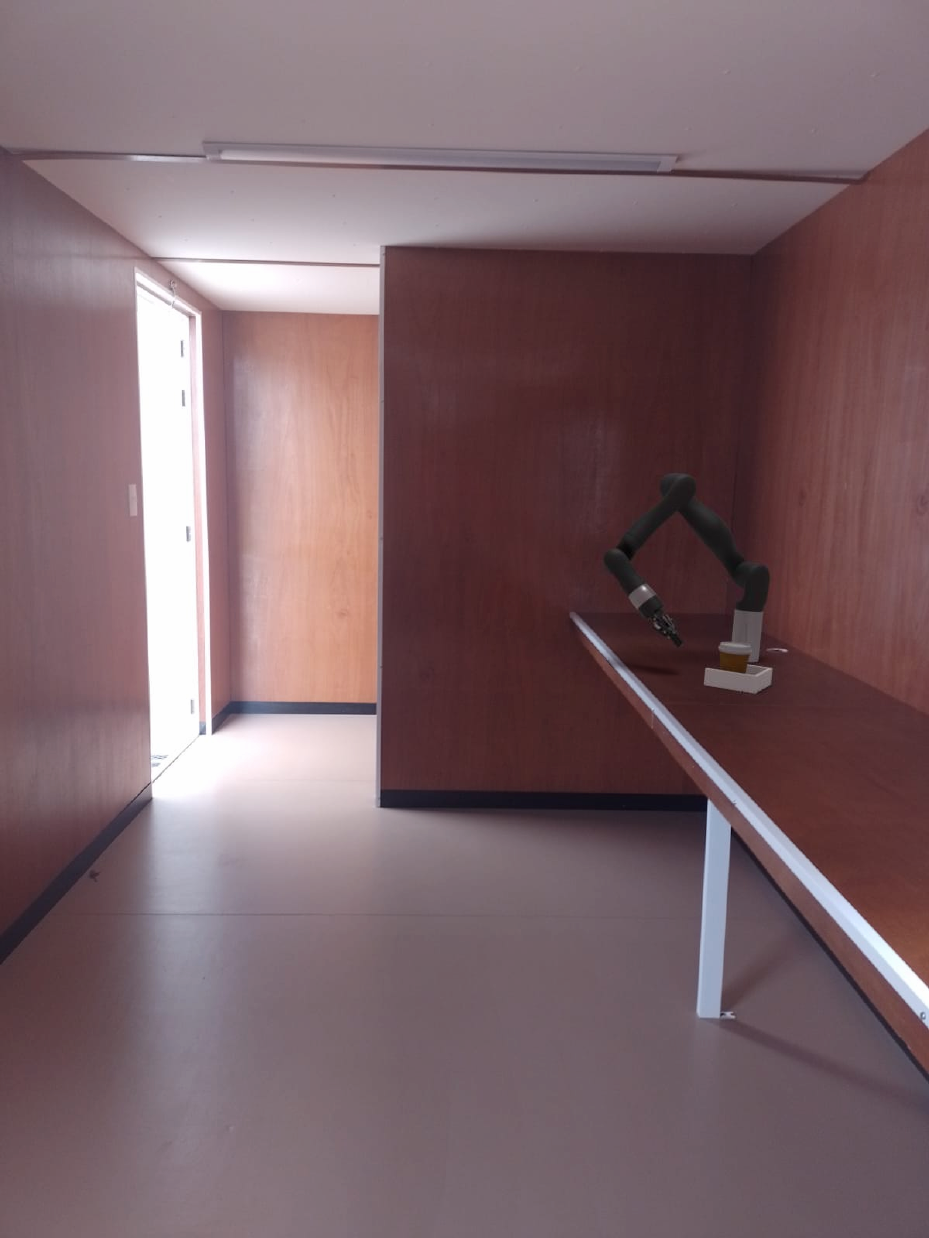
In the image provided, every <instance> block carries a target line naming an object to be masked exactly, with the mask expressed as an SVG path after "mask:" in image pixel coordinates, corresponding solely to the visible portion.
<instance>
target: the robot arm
mask: <svg viewBox="0 0 929 1238" xmlns="http://www.w3.org/2000/svg"><path fill="white" fill-rule="evenodd" d="M658 487H659V493H660V495H661V497H662V499H661V500H660V501H659V502H658V503H657V504H655V505H654V506H653V507H652V508H650V509H649V510H648V511H647V512H645V513H644V514H643V515H641V516H640V517H638V519H636V520H635V521H634V522H633V523H632V524H631V525H630V527H629V528H628V529H627V530H625V532H624V533H623V535H622V536H621V537H620V539H619V542H618V543H617V545H616V546H615V547H613V548H609V549H608V550H606V551H605V553H604V554H603V557H602V558H603V559H602V562H603V568H604V570H605V571H606V573H607V574H609V575H613V576H614V578H615V579H616V580H617V581H618V584H619V586H620V588H621V589H622V591H623V592H624V593H625V594H626V596H627V598H628V599H629V601H630V602H631V603H632V605H633V606H634V607H635V609H636V610H637V611H638V613H639V614H640V615H641V616H642V617H643V619H644V620H645V621H649V620H651V622H652V623H653V625H652V629H654V630H655V631H656V632H657V633H659V634H660V635H662V636H663V637H664V638H668V639H670V640H671V641H672V642H673V644H674V645H675V647H677V648H679V647H681V646H683V645H684V644H685V642H684V640H683V639H682V638H681V636H680V635H679V634H678V632H679V628H678V625H677V623H676V620H675V619H674V617H670V616H669V614H667V613H666V612H665V611H664V610H663V609H664V608H665V607H666V604H665V603H664V602H663V601H662V600H661V598H660V597H659V596H658V594H657V593H656V592H655V591H654V590H653V589H652V587H651V586H650V585H648V584H647V582H646V580H644V578H643V577H642V576H641V575H640V574H639V573H638V572H637V570H636V569H635V567H634V565H633V564H632V563H631V561H632V560H633V559H634V557H635V556H636V554H637V553H638V552H639V550H641V549H642V547H643V546H644V545H645V544H646V542H648V541H649V539H651V538H652V536H653V534H655V533H656V532H657V530H658V529H659V528H660V527H661V526H662V525H663V524H664V523H666V522H667V521H668V520H670V518H671V517H672V516H673V515H675V513H676V512H677V513H679V514H680V516H681V517H682V518H683V519H684V520H685V522H686V523H687V525H689V527H690V528H691V529H692V530H693V532H694V533H695V534H696V535H697V537H698V538H699V539H700V540H701V542H702V543H703V544H704V545H705V546H706V548H708V550H709V551H710V552H711V553H712V554H713V555H714V556H715V558H717V560H718V561H719V562H720V563H721V564H722V566H723V567H724V569H725V570H726V572H727V574H728V575H729V576H730V578H731V579H732V580H733V582H734V584H735V585H736V586H737V587H739V588H741V589H743V590H744V592H743V596H742V597H741V598H740V599H737V600H736V601H735V603H734V614H733V626H732V633H731V634H732V635H731V642H737V643H744V644H748V645H750V646H751V650H752V652H751V653H750V656H749V660H748V663H758V662H759V656H760V648H761V647H760V646H761V636H762V626H763V617H764V607H765V605H766V604H767V601H768V595H769V589H770V580H771V573H770V570H769V568H768V567H767V566H766V564H765V565H764V564H762V563H758V562H757V563H756V562H751V561H749V560H748V559H747V557H745V556H744V555H743V554H742V553H741V552H740V550H739V549H738V547H737V545H736V542H735V537H734V534H733V532H732V530H731V529H730V528H729V526H728V525H727V524H726V523H725V521H724V520H723V519H722V518H721V517H720V516H719V515H718V514H717V513H715V512H714V511H713V510H711V509H710V508H709V507H707V506H706V505H704V503H702V502H700V501H699V499H697V498H696V497H695V495H696V493H697V490H698V488H697V487H698V484H697V481H696V479H695V478H694V477H693V476H692V475H690V474H687V473H680V472H679V473H675V472H671V473H667V474H665V475H664V476H662V477H661V479H660V481H659V485H658Z"/></svg>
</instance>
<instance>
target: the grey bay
mask: <svg viewBox="0 0 929 1238" xmlns="http://www.w3.org/2000/svg"><path fill="white" fill-rule="evenodd" d="M772 676H773V668H772V667H765V666H760V665H752V664H749V663H748V664H747V669H746V673H745V674H742V673H735V672H729V671H723V670H720V669H716V668H709V667H706V668H705V669H704V681H703V686H708V687H713V688H720V689H726V690H731V691H735V692H736V691H737V692H742V691H743V692H742V693H747V692H748V693H749V694H755V695H756V694H757V693H759V692H760V691H762V689H763V690H764V689H766V688H767V687H769V686H772ZM758 691H759V692H758ZM748 693H747V694H748Z"/></svg>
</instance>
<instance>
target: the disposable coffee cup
mask: <svg viewBox="0 0 929 1238" xmlns="http://www.w3.org/2000/svg"><path fill="white" fill-rule="evenodd" d="M718 651H719V663H720V664H719V666H720V669H719V670H723V671H729V672H735V673H742V674H745V673H746V669H747V664H748V665H749V662H748V660H749V656H750V653H751V652H752V650H751V646H750V645H748V644H744V643H737V642H732V641H722V642H720V643H719V646H718Z"/></svg>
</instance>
